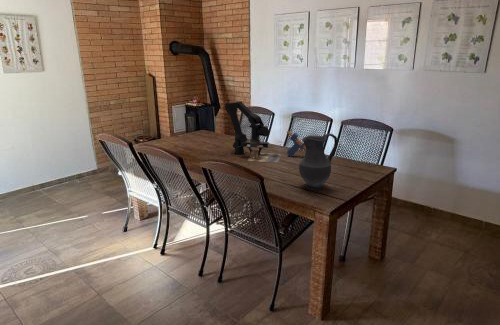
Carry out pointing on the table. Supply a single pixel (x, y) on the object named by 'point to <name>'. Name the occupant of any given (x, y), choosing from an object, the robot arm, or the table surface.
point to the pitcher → (316, 161)
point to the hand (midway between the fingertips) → (255, 156)
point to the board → (266, 157)
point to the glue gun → (295, 145)
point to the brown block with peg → (254, 154)
